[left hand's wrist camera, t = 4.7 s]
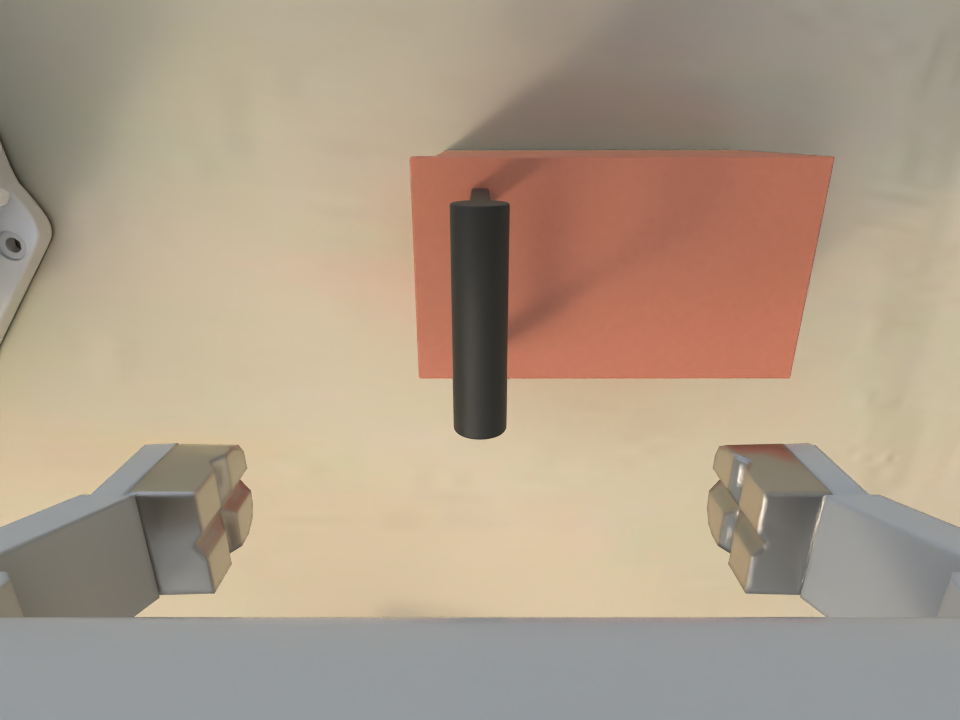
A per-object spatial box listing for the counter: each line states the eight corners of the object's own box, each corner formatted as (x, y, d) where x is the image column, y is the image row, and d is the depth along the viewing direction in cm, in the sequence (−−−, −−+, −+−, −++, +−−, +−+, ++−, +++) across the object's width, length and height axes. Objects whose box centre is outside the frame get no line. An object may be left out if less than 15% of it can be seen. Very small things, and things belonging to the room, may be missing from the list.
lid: (421, 369, 28) (396, 467, 20) (412, 156, 25) (377, 167, 16) (778, 369, 28) (902, 468, 20) (820, 155, 25) (991, 166, 16)
